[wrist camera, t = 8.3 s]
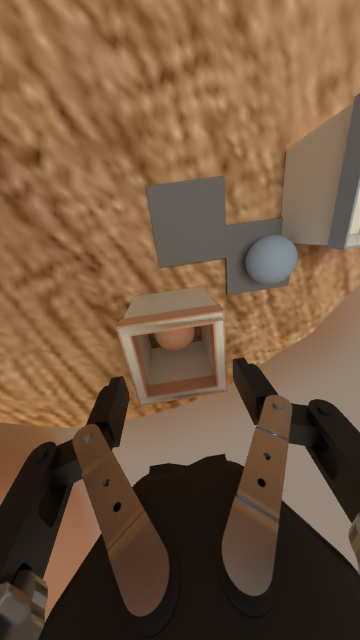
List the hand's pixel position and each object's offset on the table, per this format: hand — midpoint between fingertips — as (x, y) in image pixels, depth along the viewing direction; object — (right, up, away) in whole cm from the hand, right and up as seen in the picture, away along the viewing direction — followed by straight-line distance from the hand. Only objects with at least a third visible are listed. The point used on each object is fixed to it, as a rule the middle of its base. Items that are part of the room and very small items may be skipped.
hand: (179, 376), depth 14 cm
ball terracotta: (-1, +4, +9) cm, 10 cm away
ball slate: (+8, +11, +6) cm, 15 cm away
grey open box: (-1, +4, +9) cm, 10 cm away
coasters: (+5, +12, +6) cm, 14 cm away
